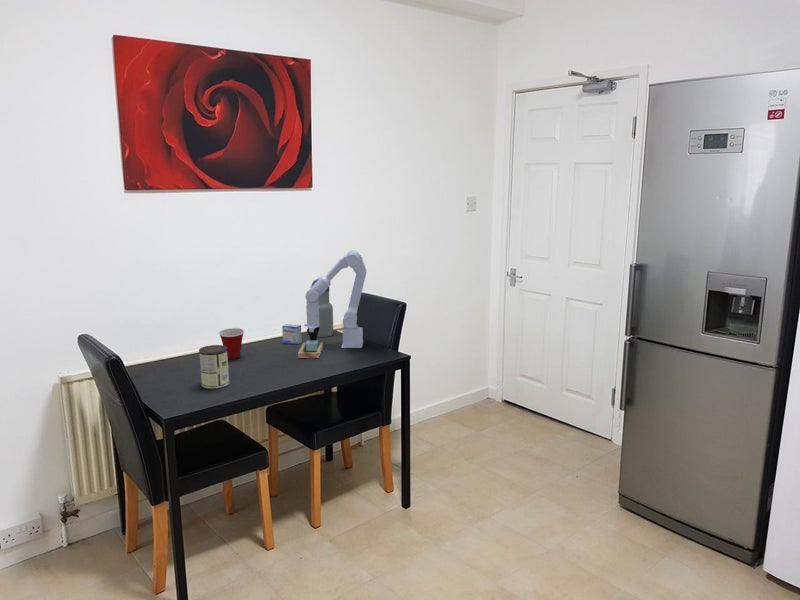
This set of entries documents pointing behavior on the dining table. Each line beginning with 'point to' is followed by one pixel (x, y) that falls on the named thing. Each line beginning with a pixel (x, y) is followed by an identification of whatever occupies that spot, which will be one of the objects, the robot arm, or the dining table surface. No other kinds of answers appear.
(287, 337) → the medicine box
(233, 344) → the plastic cup
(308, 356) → the wooden tray
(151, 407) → the dining table surface
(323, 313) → the water bottle
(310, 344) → the block
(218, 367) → the coffee can
